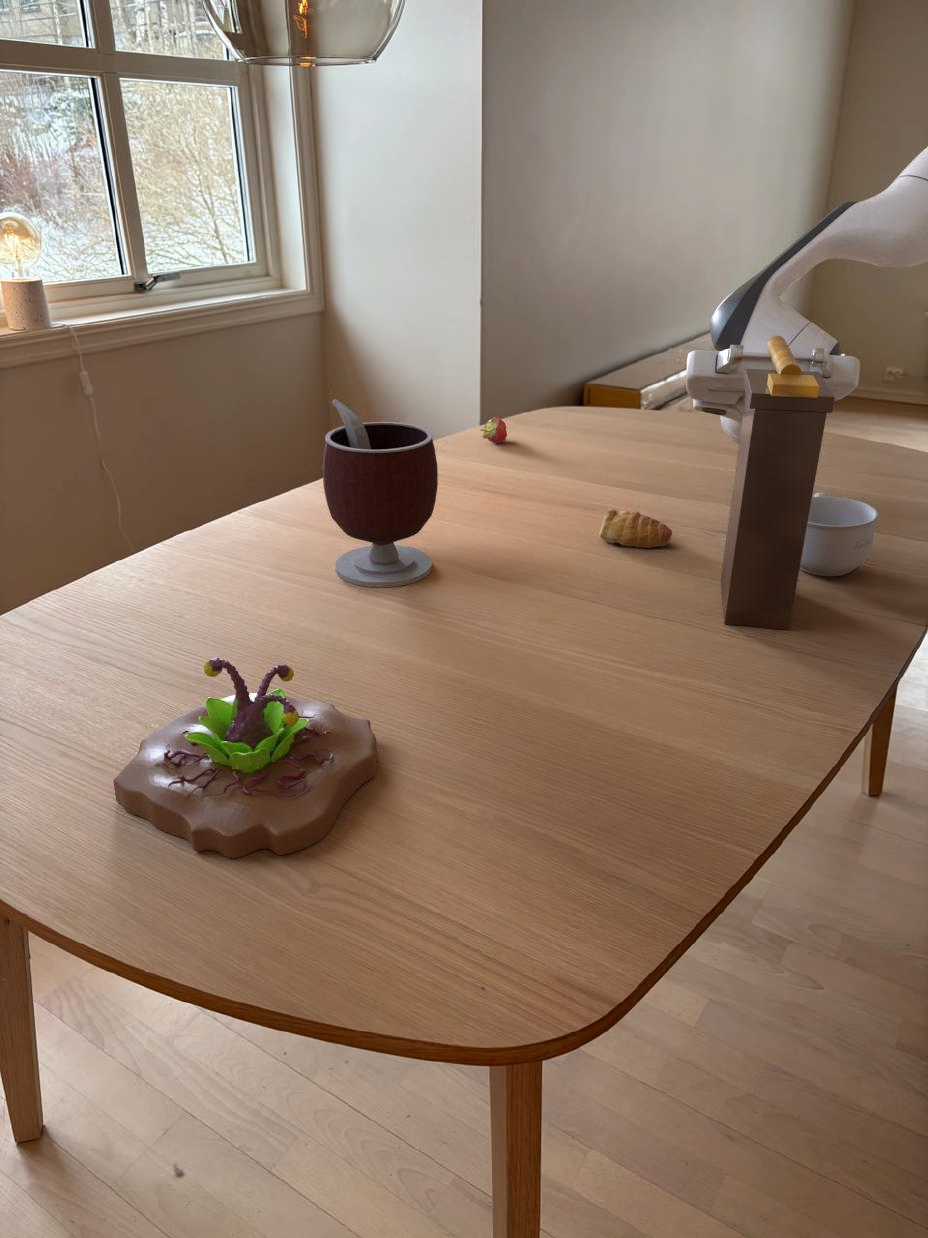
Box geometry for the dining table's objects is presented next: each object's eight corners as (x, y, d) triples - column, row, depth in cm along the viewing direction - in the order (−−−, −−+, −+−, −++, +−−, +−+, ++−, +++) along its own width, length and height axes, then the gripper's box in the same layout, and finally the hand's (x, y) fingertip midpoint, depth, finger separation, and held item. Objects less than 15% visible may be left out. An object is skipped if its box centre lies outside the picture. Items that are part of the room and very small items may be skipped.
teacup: (866, 590, 115) (879, 528, 112) (773, 577, 119) (783, 516, 115) (865, 549, 127) (877, 492, 124) (781, 538, 130) (790, 482, 127)
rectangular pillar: (783, 586, 116) (819, 371, 105) (793, 630, 106) (835, 396, 94) (716, 581, 118) (744, 368, 106) (719, 624, 107) (751, 392, 95)
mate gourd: (461, 567, 121) (461, 411, 112) (376, 600, 112) (369, 433, 103) (382, 535, 131) (377, 390, 122) (299, 563, 122) (287, 408, 113)
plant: (225, 697, 92) (212, 592, 87) (406, 741, 86) (403, 630, 81) (77, 817, 76) (50, 696, 71) (287, 882, 69) (274, 754, 64)
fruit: (516, 440, 173) (517, 413, 171) (495, 447, 169) (496, 420, 167) (498, 436, 176) (498, 409, 173) (477, 443, 172) (477, 416, 169)
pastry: (674, 536, 131) (677, 510, 129) (665, 554, 125) (668, 527, 124) (607, 527, 134) (609, 501, 132) (595, 544, 128) (597, 518, 127)
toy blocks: (794, 355, 113) (797, 336, 112) (817, 398, 93) (821, 375, 92) (755, 353, 114) (758, 334, 113) (771, 395, 94) (774, 373, 93)
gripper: (844, 418, 121) (872, 383, 107) (681, 409, 125) (687, 375, 111) (848, 369, 121) (876, 329, 108) (685, 362, 125) (692, 322, 111)
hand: (779, 352), depth 110 cm, fingers open, 8 cm apart
